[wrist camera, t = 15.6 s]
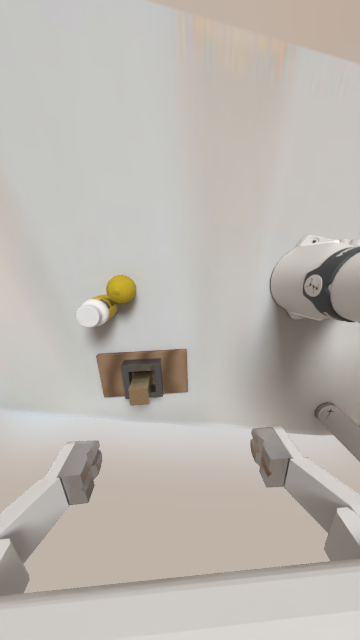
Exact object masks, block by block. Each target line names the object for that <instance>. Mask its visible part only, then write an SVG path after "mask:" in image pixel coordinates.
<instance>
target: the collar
mask: <svg viewBox="0 0 360 640" xmlns="http://www.w3.org/2000/svg"><path fill="white" fill-rule="evenodd" d="M153 370H154V375H155V384H153V385H152V391H151V397H163V380H162V367H161V358H152V359H135V360H124V361H123V363H122V365H121V371H122V378H123V384H124V391H125V398H126V399H130V398H129V391H128V389H129V386H130V383H131V381H132V378H133V376H132V372H137V371H153Z"/></svg>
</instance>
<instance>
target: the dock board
mask: <svg viewBox="0 0 360 640" xmlns="http://www.w3.org/2000/svg"><path fill="white" fill-rule="evenodd" d="M96 358H97V363H98V368H99V373H100V378H101V383H102V388H103V393H104V397H115V396H125V391H124V384H123V378H122V371H121V365H122V363H123V361H124V360H135V359H152V358H161V367H162V380H163V393H177V392H188V378H187V350H186V349H175V350H157V351H139V352H121V353H103V354H98V355H97V356H96ZM133 375H134V372H132V376H133ZM152 375H153V384H155V375H154V370H153V371H152Z"/></svg>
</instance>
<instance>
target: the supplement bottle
mask: <svg viewBox="0 0 360 640" xmlns="http://www.w3.org/2000/svg"><path fill="white" fill-rule="evenodd" d="M117 311H118V303H117V302H114V301H113V300H111V299H110V298H109V296H108V295H100V296H97V297H94V298H92V299H89V300H87V301H85V302H84V303H83V304H82V305H81V307H80V308H79V309H78V310H77V312H76V318H77V321H78V322H79V323H80V324H81V325H82V326H84V327H93V326H101V325H103V324H104V323H106V322H107V321H108V320H109V319H111V318H112V317H113V316H114V315H115V314H116V313H117Z"/></svg>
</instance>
